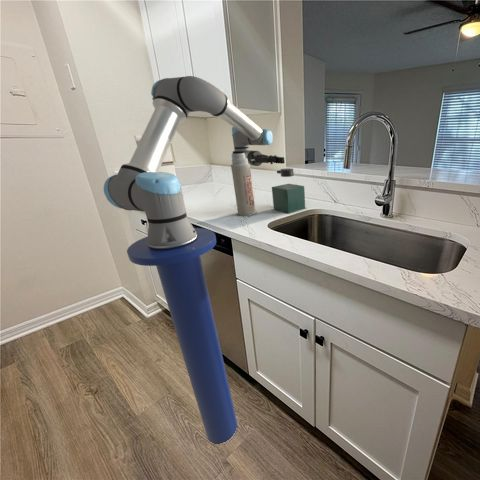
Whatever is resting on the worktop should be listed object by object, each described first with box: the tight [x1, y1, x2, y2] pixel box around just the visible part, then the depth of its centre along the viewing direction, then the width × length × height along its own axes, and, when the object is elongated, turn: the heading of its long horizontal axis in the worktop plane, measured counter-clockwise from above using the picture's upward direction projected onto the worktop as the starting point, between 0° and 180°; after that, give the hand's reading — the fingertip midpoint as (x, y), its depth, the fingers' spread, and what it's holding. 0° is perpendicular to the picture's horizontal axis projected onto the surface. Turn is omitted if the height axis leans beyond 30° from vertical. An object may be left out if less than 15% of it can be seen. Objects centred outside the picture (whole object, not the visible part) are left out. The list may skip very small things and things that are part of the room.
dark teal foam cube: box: [271, 183, 306, 214], centre depth 127 cm, size 13×11×11 cm
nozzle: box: [276, 167, 295, 178], centre depth 123 cm, size 10×6×3 cm, turn 49°
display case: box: [133, 135, 178, 178], centre depth 147 cm, size 11×11×35 cm
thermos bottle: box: [230, 150, 256, 217], centre depth 117 cm, size 8×8×28 cm
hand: (283, 160), depth 121 cm, fingers closed
